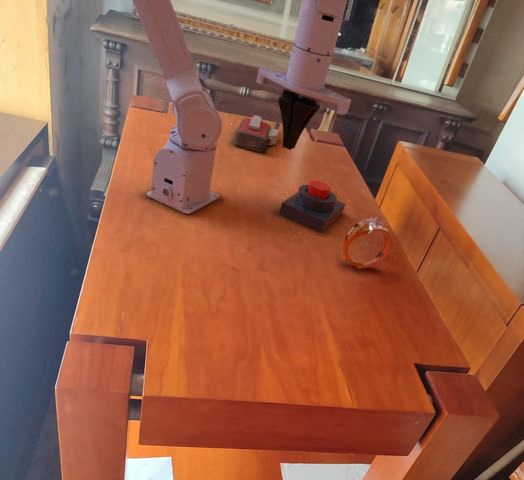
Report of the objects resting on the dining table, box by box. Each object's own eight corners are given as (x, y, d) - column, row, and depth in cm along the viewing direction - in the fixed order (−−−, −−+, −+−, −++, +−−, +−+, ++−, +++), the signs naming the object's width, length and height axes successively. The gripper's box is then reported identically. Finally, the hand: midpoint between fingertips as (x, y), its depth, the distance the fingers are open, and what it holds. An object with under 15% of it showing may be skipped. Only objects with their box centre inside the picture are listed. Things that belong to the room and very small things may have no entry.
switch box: (321, 233, 80) (328, 210, 77) (278, 214, 82) (284, 192, 79) (341, 215, 87) (349, 194, 84) (302, 198, 89) (308, 177, 86)
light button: (322, 202, 80) (325, 192, 79) (303, 194, 81) (306, 184, 80) (330, 196, 83) (333, 186, 82) (311, 188, 84) (314, 178, 83)
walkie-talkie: (272, 158, 101) (280, 130, 117) (277, 136, 98) (285, 111, 114) (231, 147, 101) (245, 121, 116) (235, 125, 98) (248, 101, 113)
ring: (337, 269, 72) (355, 220, 67) (334, 258, 74) (351, 209, 69) (381, 276, 73) (403, 229, 68) (377, 265, 76) (397, 218, 70)
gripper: (368, 64, 70) (338, 158, 78) (280, 33, 73) (260, 127, 82) (352, 67, 64) (322, 168, 73) (258, 34, 68) (240, 134, 76)
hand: (288, 147), depth 77 cm, fingers closed
